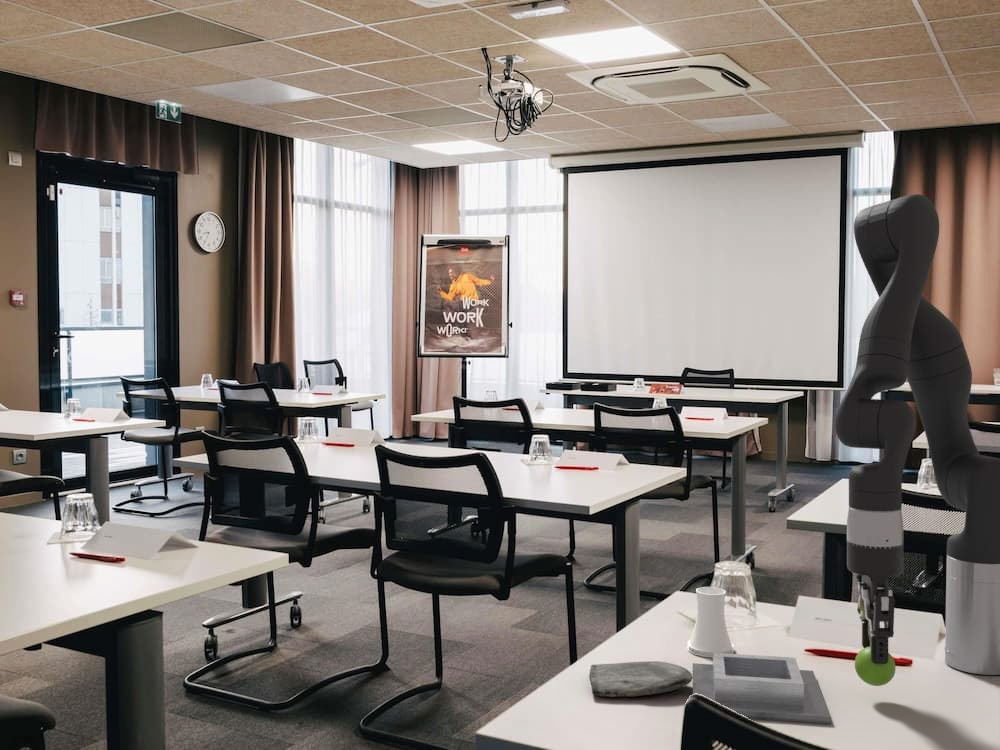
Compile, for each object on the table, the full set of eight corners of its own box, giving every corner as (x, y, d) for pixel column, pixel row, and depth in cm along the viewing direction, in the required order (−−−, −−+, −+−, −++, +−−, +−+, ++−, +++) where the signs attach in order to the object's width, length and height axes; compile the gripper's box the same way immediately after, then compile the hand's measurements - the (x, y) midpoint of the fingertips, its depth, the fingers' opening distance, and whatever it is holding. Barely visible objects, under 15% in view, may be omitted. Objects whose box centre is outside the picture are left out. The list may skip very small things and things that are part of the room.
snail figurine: (893, 677, 139) (893, 596, 139) (897, 693, 133) (896, 608, 133) (853, 674, 141) (853, 593, 141) (855, 689, 135) (855, 605, 134)
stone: (690, 676, 146) (593, 687, 147) (686, 650, 146) (589, 661, 148) (697, 695, 135) (592, 707, 136) (693, 666, 135) (588, 679, 137)
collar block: (812, 677, 146) (813, 651, 146) (830, 724, 128) (830, 694, 128) (692, 669, 149) (692, 644, 149) (693, 714, 132) (693, 685, 131)
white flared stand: (732, 644, 161) (732, 585, 161) (735, 659, 154) (735, 597, 154) (686, 641, 163) (687, 583, 162) (687, 656, 155) (688, 595, 155)
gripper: (915, 551, 128) (915, 674, 129) (891, 529, 143) (891, 640, 143) (856, 549, 130) (856, 672, 130) (838, 528, 144) (838, 638, 145)
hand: (874, 655), depth 137 cm, fingers closed on snail figurine, 5 cm apart
